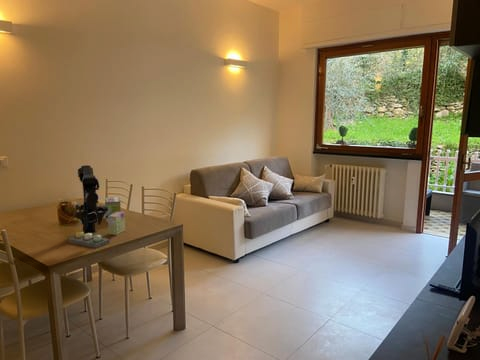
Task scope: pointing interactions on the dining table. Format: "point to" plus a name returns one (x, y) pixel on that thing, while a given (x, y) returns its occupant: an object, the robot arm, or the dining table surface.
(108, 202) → the tea box
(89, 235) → the cream button
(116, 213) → the box
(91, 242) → the button panel
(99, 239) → the sage button
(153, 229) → the dining table surface
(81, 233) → the mustard button
